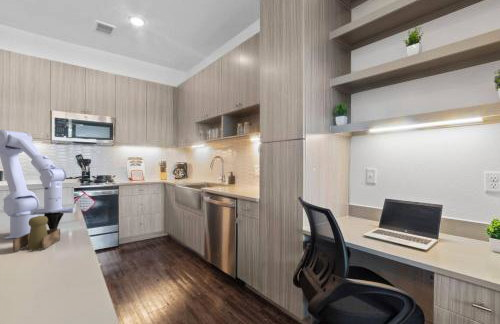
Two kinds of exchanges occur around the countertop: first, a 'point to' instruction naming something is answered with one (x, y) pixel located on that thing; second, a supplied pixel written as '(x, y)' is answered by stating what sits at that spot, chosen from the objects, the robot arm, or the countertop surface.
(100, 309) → the countertop surface
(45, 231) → the cork
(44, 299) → the countertop surface
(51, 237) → the wooden bracket shelf
